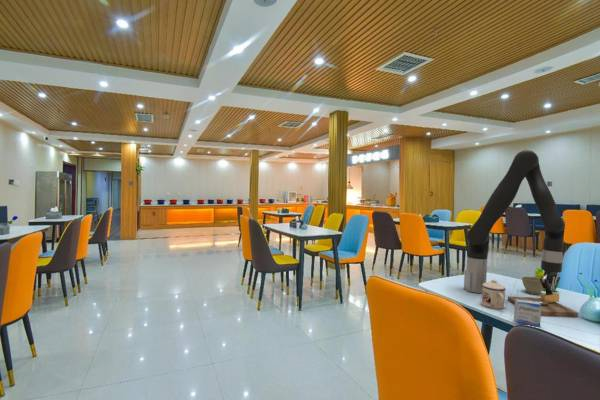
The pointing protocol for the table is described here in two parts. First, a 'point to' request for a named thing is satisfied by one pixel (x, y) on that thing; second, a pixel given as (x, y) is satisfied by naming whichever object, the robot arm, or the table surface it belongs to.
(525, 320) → the medicine box
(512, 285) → the table surface
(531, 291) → the bowl
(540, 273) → the fruit basket
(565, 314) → the sundial board
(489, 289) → the teacup with lid
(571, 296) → the table surface
